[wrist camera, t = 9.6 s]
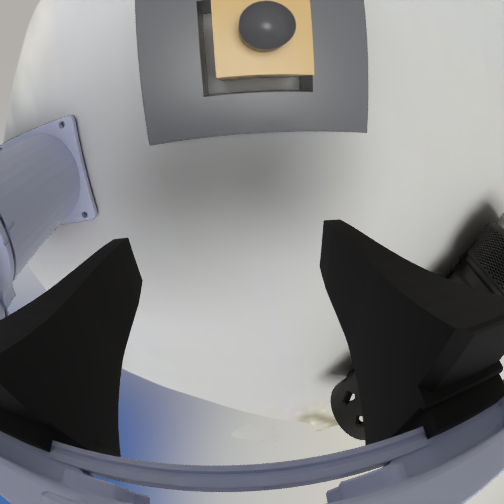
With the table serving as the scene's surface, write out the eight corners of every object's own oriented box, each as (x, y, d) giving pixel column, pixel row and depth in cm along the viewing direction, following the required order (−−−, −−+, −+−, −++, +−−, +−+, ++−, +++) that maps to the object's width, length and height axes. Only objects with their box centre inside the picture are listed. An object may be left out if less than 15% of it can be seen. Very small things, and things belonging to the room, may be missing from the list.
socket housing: (162, 135, 16) (149, 145, 14) (149, -5, 11) (134, -18, 8) (347, 124, 16) (366, 132, 14) (342, -12, 11) (360, -24, 8)
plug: (221, 80, 15) (213, 76, 8) (217, 22, 12) (207, -18, 6) (287, 77, 15) (325, 74, 8) (284, 20, 12) (319, -17, 6)
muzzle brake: (320, 371, 33) (337, 444, 24) (481, 189, 19) (554, 248, 11) (368, 378, 36) (388, 439, 27) (507, 230, 22) (560, 284, 14)
